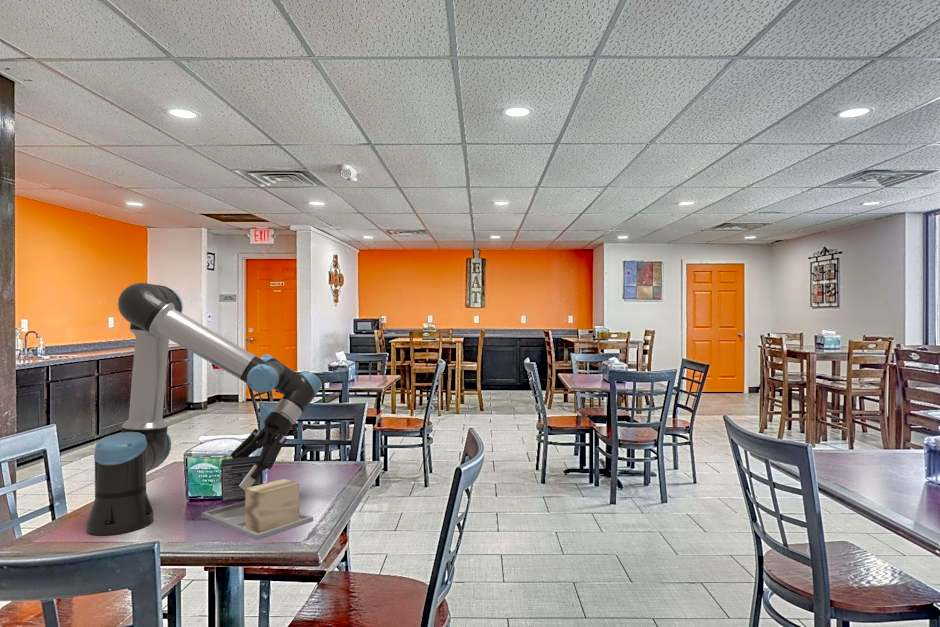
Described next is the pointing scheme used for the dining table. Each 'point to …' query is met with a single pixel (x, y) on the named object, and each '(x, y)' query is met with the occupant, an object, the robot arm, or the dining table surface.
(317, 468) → the dining table surface
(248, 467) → the small box
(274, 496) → the block
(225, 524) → the tray
